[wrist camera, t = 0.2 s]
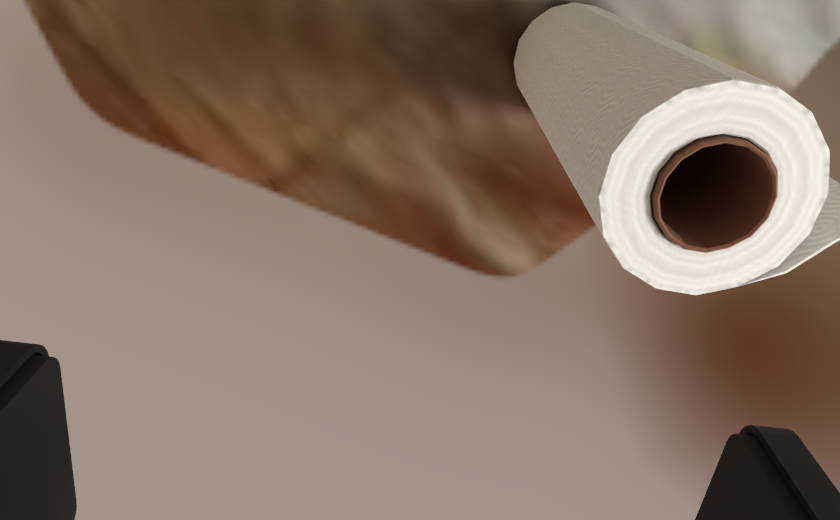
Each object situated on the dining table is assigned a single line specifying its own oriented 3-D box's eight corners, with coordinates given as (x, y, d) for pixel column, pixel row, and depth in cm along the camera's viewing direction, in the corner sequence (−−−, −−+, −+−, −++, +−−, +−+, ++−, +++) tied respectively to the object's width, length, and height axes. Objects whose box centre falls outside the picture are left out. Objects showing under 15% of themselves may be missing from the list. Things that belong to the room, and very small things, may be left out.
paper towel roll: (489, 62, 37) (552, 200, 18) (574, -25, 35) (747, 25, 16) (576, 151, 39) (715, 361, 20) (661, 74, 37) (905, 224, 18)
